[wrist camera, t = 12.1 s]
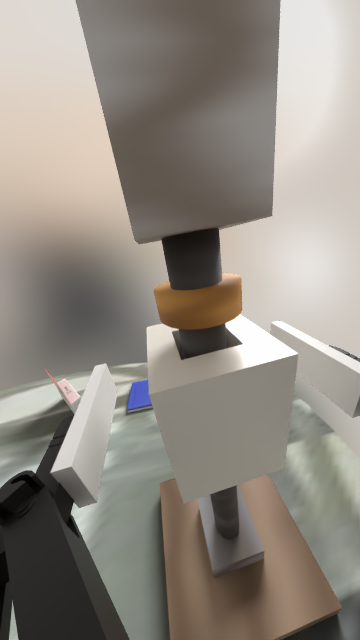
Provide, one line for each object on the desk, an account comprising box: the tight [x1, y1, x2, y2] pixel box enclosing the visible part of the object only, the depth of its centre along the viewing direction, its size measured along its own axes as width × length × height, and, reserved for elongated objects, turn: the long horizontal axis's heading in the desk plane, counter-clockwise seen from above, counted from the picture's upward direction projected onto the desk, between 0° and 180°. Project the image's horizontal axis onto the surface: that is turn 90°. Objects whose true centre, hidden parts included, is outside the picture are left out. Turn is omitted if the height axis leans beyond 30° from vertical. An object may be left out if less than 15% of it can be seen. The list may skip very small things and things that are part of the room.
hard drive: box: [127, 380, 153, 413], centre depth 41 cm, size 2×8×12 cm
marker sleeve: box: [147, 314, 298, 503], centre depth 11 cm, size 6×6×8 cm
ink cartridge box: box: [46, 371, 82, 415], centre depth 40 cm, size 2×11×10 cm, turn 48°
